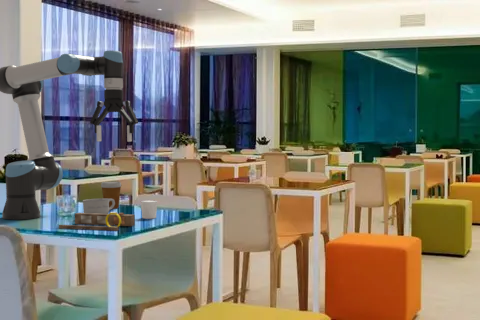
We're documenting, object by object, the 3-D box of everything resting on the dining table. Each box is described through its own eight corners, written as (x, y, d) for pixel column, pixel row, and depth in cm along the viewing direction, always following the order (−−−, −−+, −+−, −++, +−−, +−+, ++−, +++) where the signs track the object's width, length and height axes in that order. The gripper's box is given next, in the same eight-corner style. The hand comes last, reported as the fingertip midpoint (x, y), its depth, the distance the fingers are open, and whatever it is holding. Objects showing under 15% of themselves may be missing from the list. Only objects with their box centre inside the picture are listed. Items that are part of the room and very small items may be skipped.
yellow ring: (121, 228, 268) (122, 212, 268) (118, 229, 265) (119, 213, 265) (107, 226, 270) (108, 210, 269) (104, 227, 267) (104, 211, 267)
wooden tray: (58, 228, 266) (58, 216, 266) (78, 222, 281) (78, 211, 280) (117, 230, 260) (117, 218, 259) (134, 225, 274) (134, 213, 274)
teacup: (86, 220, 288) (86, 200, 287) (79, 217, 297) (79, 198, 297) (120, 218, 294) (119, 198, 294) (112, 215, 304) (111, 196, 303)
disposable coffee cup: (119, 209, 323) (119, 183, 323) (99, 209, 324) (98, 183, 323) (123, 206, 333) (123, 181, 332) (103, 207, 333) (103, 181, 332)
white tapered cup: (154, 219, 291) (154, 202, 291) (138, 218, 292) (138, 201, 292) (159, 216, 298) (159, 200, 297) (144, 216, 299) (143, 199, 299)
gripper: (81, 89, 289) (82, 141, 290) (138, 88, 282) (138, 141, 283) (90, 90, 296) (91, 141, 297) (145, 89, 289) (146, 141, 290)
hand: (114, 141), depth 290 cm, fingers open, 13 cm apart
